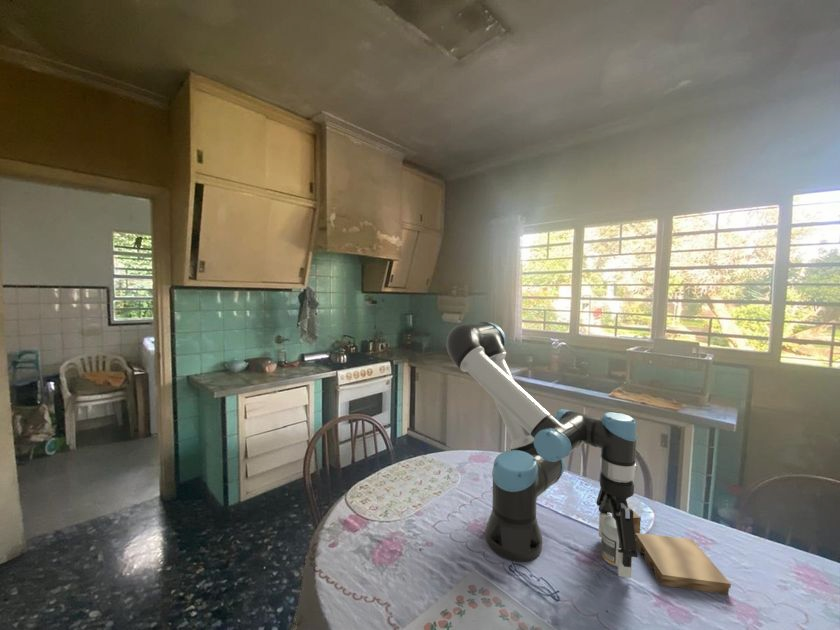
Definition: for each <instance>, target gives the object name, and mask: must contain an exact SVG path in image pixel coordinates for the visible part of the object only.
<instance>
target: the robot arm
mask: <svg viewBox="0 0 840 630" xmlns="http://www.w3.org/2000/svg"><path fill="white" fill-rule="evenodd" d="M506 339H507V338H506V333H505V332H504V331H503V329H502V328H501V327H500V326H499V325H497V324H496V323H495V322H494V323H493V322H491V321H490V322H489V321H488V322H486V321H481V322H474V323H462V324H459V325H456V326H455V327H453V328H452V329H451V331H450V332H449V333H448V335H447V338H446V342H445V343H446V344H445V345H446V350H447V353H448V356H449V357H450V359H451V360H452V362H453V363H454V364H455V366H457V368H458V369H460V370H461V371H462V372H464V373H465V372H467V373H468V374H469V375H470V376H471V377H472V378H473V379H474V380H475V381H476V382H477V383H478V384H479V385H480V386H481V387H482V388H483V389H484V390H485V391H486V392H487V393H488V394H489V395H490V396H491V398H493V400H494V403H495V406H496V407H497V409H498V412H499V414H500V417H501V418H502V421H503V424H504V425H505V427H506V431H507V432H508V435H509V437H510V439H511V444H510V446H509V449H510V450H506V451H503V452H500V453H499V454H498V455H497V456H496V457H495V458H494V461H493V465H492V466H493V467H492V473H491V474H492V510H491V512H490V515H489V518H488V520H487V523H486V526H485V540H486V543H487V545H488V547H489V548H490V549H491V550H492V551H493V552H494V553H495V554H497V555H498V556H500V557H501V558H505V559H506V560H510V561H513V562H529V561H533V560H535V559H536V558H538V557H539V556H540V555H541V553H542V550H543V536H542V533H541V530H540V526H539V523H538V520H537V500H538V497H540V495H542V494H543V493H544V492H546V491H547V490H548V489H549V488H550V487H551V486H553V485H555V484H556V483H557V482H559V480H560V478H561V477H562V476H563V474H564V472H565V468H566V460H565V458H566V457H568V456H569V455H570V454H571V453H572V452H573V451H575V449H578V447H580V446H581V445H582V444H585V445H589V446H591V447H594V448H599V449H600V451H601V453H600V475H599V476H600V477H599V486H600V489H599V491H598V492H599V493H598V496H597V499H596V502H595V503H596V505H597V506H598V512H599V515H598V516H599V517H598V537H599V538H602V527H603V526H604V520H605V518H606V517H612V516H613V518H614V519H615V521H616V526H617V532H618V537H619V542H620V548H619V549H617V550H618V566H617V576H618V577H621V578H627V579H628V578H629V579H631V578H632V566H633V558H639V557H638V547H637V546H636V537H635V531H634V523H633V511H634V510H633V508H631V509H628V506H629V505H628V501H627V499H628V498H629V499H630V498H631V497H633V496H634V493H635V480H634V479H635V474H636V472H635V471H636V468H637V464H636V452H637V450H636V449H637V440H638V435H637V422H636V420H635V419H634V417H632V416H630V415H628V414H624V413H621V412H612V411H611V412H610V411H609V412H605V413H603V415H602V417H597V416H592V415H588V414H585V413H581V412H578V411H575V410H571V409H563V408H561V409H558V410H557V412H556V414H555V415H554V416H553V415H552V414H551V413H550V412H549V411H547V409H545V408H544V407H543V406H542V405H541V404H540V403H539V402H538V401H537V400H536V399H534V397H532V395H531V394H530V393H528V392H527V391H526V390H525V389H524V388H523V387H522V386H521V385H519V384H518V383H517V382H516V381H515V378H514V377H513V375H512V374H513V373H512V372H511V370H510V368H509V366H508V364H507V362H506V356H507V354H508V353H507V351H506V349H505V347H506V342H507V340H506ZM616 514H620V516H618V515H616Z"/></svg>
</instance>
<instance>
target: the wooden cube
mask: <svg viewBox="0 0 840 630" xmlns="http://www.w3.org/2000/svg"><path fill="white" fill-rule="evenodd" d="M628 509H632V508H631V507H630V506H629V505H628ZM616 515H618V516H620V514H616ZM611 517H613V516H612V515H611ZM641 519H642V518H641V516H640V515H639V514H638V513H636V512H635V510H633V523H634V531H635V533H641Z"/></svg>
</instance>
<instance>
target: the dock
mask: <svg viewBox="0 0 840 630" xmlns="http://www.w3.org/2000/svg"><path fill="white" fill-rule="evenodd" d="M635 538H636V546H637V550H638V551H639V552H640V553H641V554H644V560H645V561H646V563H647V565H648V567H649V568H650V569H654V570H653V571H654V572H653V576H655V578H656V580H657V581H658V583H659V585H660V586H667V587H674V588H681V589H688V590H695V591H701V592H702V591H703V592H709V593H717V594H723V595H729V591H730V589H731V588H732V587H731V585H732V584H731V583H730V581H729V580H728V578H726V576H724V574H723V573H722V572H721V571H720V569H719V568H718V567H717V566H716V565H715V564H714V563H713V561H712V560H711V559H710V558H709V557H708V556H707V554H706V553H705V552H704V551H703V550H702V549H701V547H700V546H699V544H697V543H696V542H695V540H694V539H692V538H686V537H685V538H683V537H676V536H668V535H667V536H666V535H657V534H648V533H641V532H640V533H635Z"/></svg>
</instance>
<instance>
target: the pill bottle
mask: <svg viewBox="0 0 840 630" xmlns="http://www.w3.org/2000/svg"><path fill="white" fill-rule="evenodd" d="M600 546H601V547H600V555H601V557H602V559H604V561H606V562H607V563H608V564H610V565H612V566H615V567H618V550H617V549H619V548H620V542H619V537H618V532H617V526H616V521H615V519H614V518H613V517H612V516H611V517H606V518H605V520H604V526H603V527H602V537H601V545H600Z"/></svg>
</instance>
